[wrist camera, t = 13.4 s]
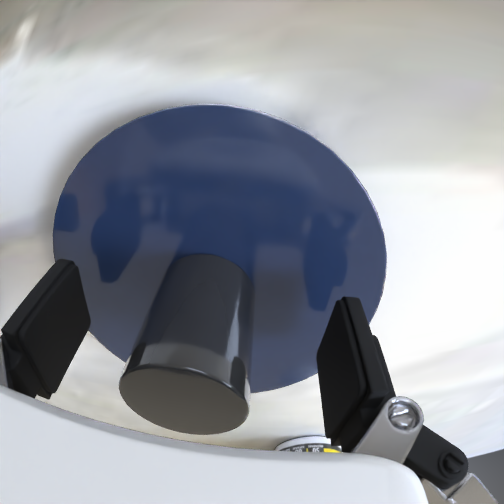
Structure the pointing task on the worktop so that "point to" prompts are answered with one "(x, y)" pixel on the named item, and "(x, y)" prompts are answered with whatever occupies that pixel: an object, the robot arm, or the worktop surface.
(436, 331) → the worktop surface
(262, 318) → the pot lid
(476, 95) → the worktop surface
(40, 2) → the worktop surface
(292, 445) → the supplement bottle
